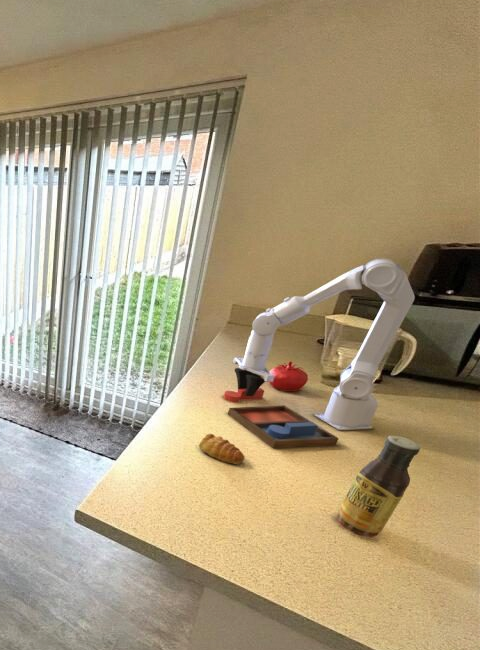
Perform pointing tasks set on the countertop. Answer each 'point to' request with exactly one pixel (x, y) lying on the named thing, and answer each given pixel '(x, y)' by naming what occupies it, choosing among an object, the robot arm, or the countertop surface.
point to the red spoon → (242, 395)
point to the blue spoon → (292, 430)
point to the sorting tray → (279, 415)
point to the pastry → (221, 449)
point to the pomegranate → (288, 377)
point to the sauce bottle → (378, 488)
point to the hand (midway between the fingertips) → (245, 393)
